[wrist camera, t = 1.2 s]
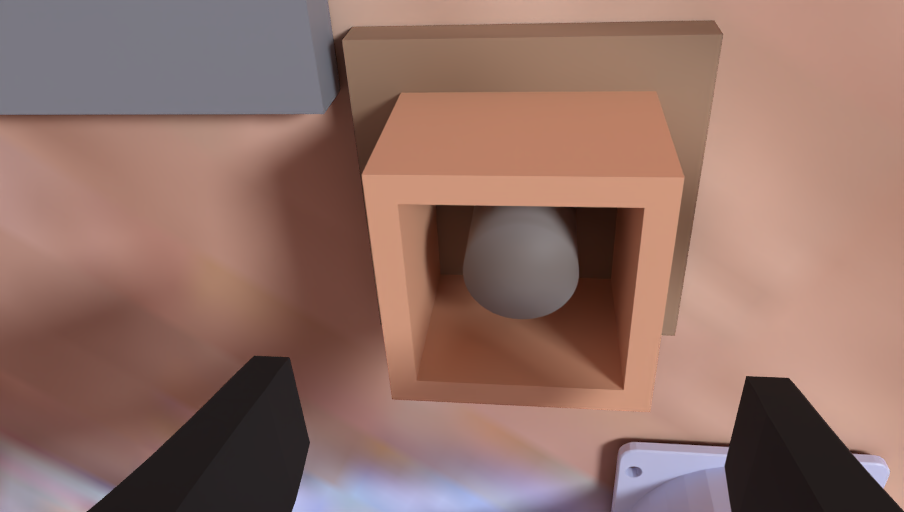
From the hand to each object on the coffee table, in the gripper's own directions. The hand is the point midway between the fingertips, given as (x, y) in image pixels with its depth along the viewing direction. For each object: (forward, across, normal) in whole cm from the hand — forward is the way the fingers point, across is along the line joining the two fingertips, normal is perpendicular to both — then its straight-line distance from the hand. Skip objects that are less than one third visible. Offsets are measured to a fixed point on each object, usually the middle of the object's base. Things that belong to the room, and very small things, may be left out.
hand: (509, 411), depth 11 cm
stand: (+8, 0, 0) cm, 8 cm away
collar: (+7, 0, 0) cm, 7 cm away
